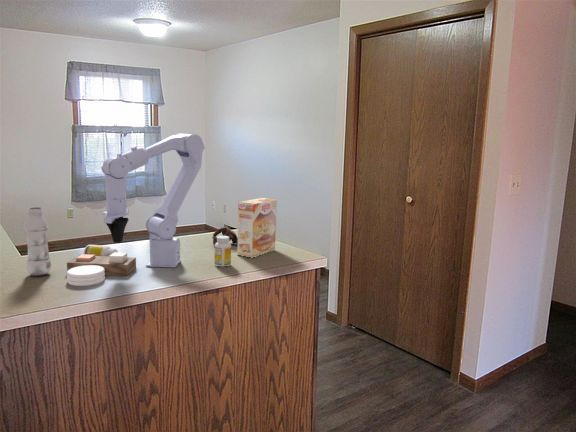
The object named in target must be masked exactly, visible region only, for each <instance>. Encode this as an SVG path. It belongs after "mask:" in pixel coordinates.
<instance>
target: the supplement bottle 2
mask: <svg viewBox="0 0 576 432" xmlns="http://www.w3.org/2000/svg"><path fill="white" fill-rule="evenodd" d="M216 237H217V243H216V244H215V246H214V262H213V263H214V266H215V265H216V266H215V267H217V266H228V267H230V266H231V265H232V264H231V263H232V244H231V243H230V241H229V237H228V236H222V235H217V236H216ZM229 265H230V266H229Z"/></svg>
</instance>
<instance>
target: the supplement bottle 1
mask: <svg viewBox="0 0 576 432" xmlns="http://www.w3.org/2000/svg"><path fill="white" fill-rule="evenodd" d="M114 252H118V253H119V251H118V249H116V248H112V247H111V246H108V245H101V244H87V245H86V246H85V247H84V250H83V254H87V255H95V256H107V257H109V256H110V255H111V254H113V253H114Z"/></svg>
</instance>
